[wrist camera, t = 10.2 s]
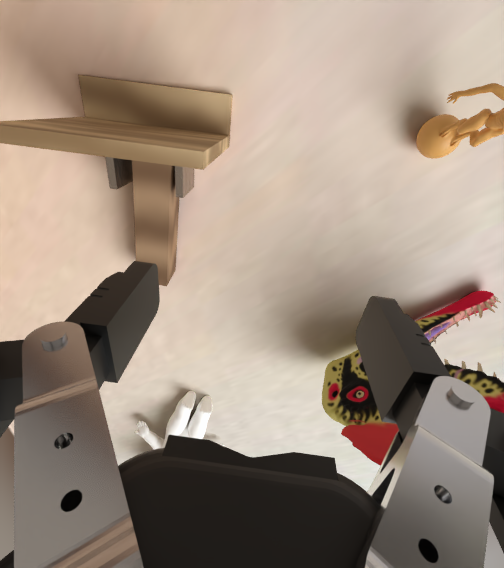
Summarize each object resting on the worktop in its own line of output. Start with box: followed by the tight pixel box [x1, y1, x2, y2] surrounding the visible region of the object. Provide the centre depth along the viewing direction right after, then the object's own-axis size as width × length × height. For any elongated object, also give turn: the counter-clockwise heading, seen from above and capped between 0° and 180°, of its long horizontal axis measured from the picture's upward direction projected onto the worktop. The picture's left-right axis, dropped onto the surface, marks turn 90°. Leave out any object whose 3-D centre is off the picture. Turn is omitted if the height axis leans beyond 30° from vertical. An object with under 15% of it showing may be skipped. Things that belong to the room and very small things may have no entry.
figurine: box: [416, 83, 504, 158], centre depth 26 cm, size 8×6×12 cm
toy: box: [322, 291, 504, 466], centre depth 37 cm, size 7×27×20 cm, turn 128°
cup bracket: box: [106, 157, 194, 198], centre depth 32 cm, size 5×8×7 cm, turn 84°
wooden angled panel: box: [0, 75, 232, 169], centre depth 26 cm, size 5×16×14 cm, turn 84°
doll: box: [135, 391, 225, 450], centre depth 61 cm, size 19×9×30 cm
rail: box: [132, 160, 179, 286], centre depth 36 cm, size 16×4×4 cm, turn 168°
